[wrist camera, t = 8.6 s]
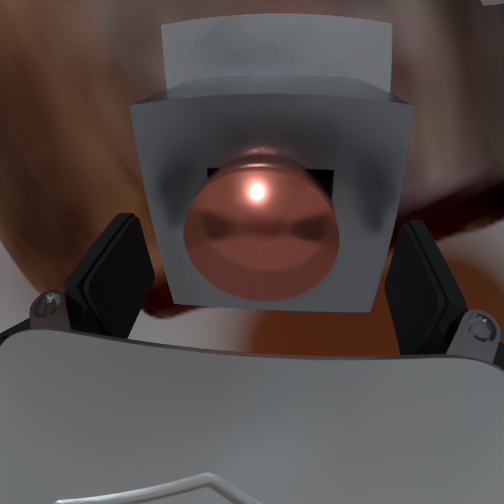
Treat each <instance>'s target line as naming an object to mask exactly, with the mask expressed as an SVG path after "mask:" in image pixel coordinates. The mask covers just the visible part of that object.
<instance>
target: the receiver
mask: <svg viewBox="0 0 504 504" xmlns="http://www.w3.org/2000/svg"><path fill="white" fill-rule="evenodd" d="M161 30H162V43H163V54H164V65H165V75H166V84H167V90H164V91H162V92H159V93H157V94H155V95H152V96H150V97H147V98H145V99H143V100H141V101H138V102H136V103H134V104H132V105H130V112H131V119H132V125H133V131H134V136H135V142H136V148H137V153H138V158H139V163H140V169H141V173H142V178H143V183H144V188H145V192H146V197H147V202H148V206H149V210H150V215H151V219H152V223H153V227H154V231H155V235H156V239H157V243H158V247H159V251H160V255H161V259H162V262H163V266H164V270H165V273H166V277H167V281H168V284H169V288H170V291H171V294H172V298H173V301H174V304H185V305H197V306H211V307H225V308H243V309H261V310H283V311H313V312H314V311H315V312H316V311H317V312H370V311H371V308H372V305H373V301H374V298H375V295H376V292H377V288H378V285H379V281H380V278H381V274H382V271H383V267H384V264H385V260H386V256H387V252H388V248H389V244H390V240H391V236H392V232H393V228H394V223H395V219H396V214H397V210H398V205H399V200H400V195H401V190H402V185H403V179H404V174H405V168H406V162H407V155H408V149H409V142H410V134H411V126H412V118H413V108H414V105H412V104H410V103H408V102H406V101H405V100H403V99H401V98H399V97H397V96H395V95H393V94H391V93H390V84H391V63H392V24H389V23H384V22H378V21H372V20H365V19H357V18H349V17H340V16H329V15H314V14H248V15H232V16H221V17H212V18H203V19H196V20H189V21H183V22H177V23H171V24H166V25H161ZM249 156H274V157H279V158H283V159H286V160H289V161H292V162H294V163H296V164H298V165H300V166H302V167H304V168H305V169H307V170H308V171H310V172H311V173H312V174H313V175H314V176H315V177H316V178H318V180H319V181H320V182H321V183H322V184H323V186H324V187H325V189H326V190H327V192H328V194H329V196H330V198H331V201H332V204H333V207H334V212H335V216H336V220H337V225H338V230H339V239H340V242H339V250H338V255H337V258H336V260H335V263H334V265H333V267H332V268H331V270H330V272H329V273H328V274H327V275H326V276H325V278H324V279H323V280H322V281H321V282H319V283H318V284H317V285H316V286H314V287H313V288H312V289H310V290H308V291H306V292H304V293H302V294H300V295H297V296H295V297H291V298H288V299H283V300H276V301H256V300H249V299H244V298H240V297H237V296H234V295H231V294H229V293H227V292H225V291H223V290H221V289H219V288H217V287H216V286H214V285H213V284H211V283H210V282H209V281H208V280H206V279H205V278H204V277H203V276H202V275H201V274H200V273H199V272H198V270H197V269H196V268H195V267H194V265H193V263H192V262H191V260H190V258H189V256H188V254H187V251H186V248H185V244H184V237H183V227H184V221H185V217H186V214H187V212H188V209H189V208H190V206H191V204H192V202H193V201H194V199H195V197H196V195H197V194H198V192H199V190H200V188H201V187H202V185H203V183H204V182H205V181H206V180H207V178H208V177H209V176H210V175H211V174H212V173H213V172H215V171H216V170H217V169H219V168H220V167H222V166H223V165H225V164H227V163H229V162H231V161H234V160H237V159H240V158H244V157H249Z"/></svg>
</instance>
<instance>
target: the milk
mask: <svg viewBox="0 0 504 504" xmlns="http://www.w3.org/2000/svg"><path fill="white" fill-rule="evenodd" d="M480 1H481V2H482V4H483V6H487V5H496V4H504V0H480Z"/></svg>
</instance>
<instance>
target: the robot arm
mask: <svg viewBox="0 0 504 504" xmlns="http://www.w3.org/2000/svg"><path fill="white" fill-rule="evenodd" d="M154 279H155V274H154V270H153V267H152V263H151V260H150V256H149V253H148V249H147V246H146V242H145V239H144V235H143V231H142V227H141V224H140V220H139V218H138V217H135V215H134V214H133V213H120V214H118V215H117V216H116V217H115V218H114V219H113V220H112V222H111V223H110V224H109V225H108V226H107V228H106V229H105V230H104V231H103V233H102V234H101V235H100V236H99V238H98V239H97V240H96V241H95V243H94V244H93V245H92V246H91V248H90V249H89V250H88V252H87V253H86V254H85V256H84V257H83V258H82V259H81V261H80V262H79V264H78V265H77V266H76V268H75V269H74V270H73V272H72V273H71V274H70V276H69V277H68V279H67V280H66V281H65V283H64V284H63V285H64V287H65V289H66V291H65V292H64V294H63V293H62V292H61V291H58V290H50V291H47V292H45V293H43V294H41V295H40V296H39V297H38V298H36V299H35V301H34V302H33V303H32V305H31V307H30V318H28V319H26V320H24V321H23V322H21V323H19V324H17V325H15V326H13V327H11V328H9V329H8V330H6V331H4V332H2V333H0V504H504V344H502V343H501V342H499V340H500V334H501V333H500V328H499V326H498V324H497V322H496V321H495V320H494V319H493V317H492V316H490V315H489V314H488V313H486V312H484V311H481V310H470V311H468V308H467V306H466V302H465V299H464V297H463V295H462V293H461V291H460V289H459V287H458V285H457V283H456V281H455V279H454V277H453V275H452V273H451V271H450V269H449V267H448V265H447V263H446V261H445V259H444V258H443V256H442V254H441V252H440V250H439V248H438V247H437V245H436V243H435V241H434V240H433V238H432V236H431V234H430V233H429V231H428V229H427V228H426V226H425V224H424V223H423V222H422V221H413V220H407V221H406V223H405V224H402V225H401V226H400V230H399V234H398V238H397V242H396V246H395V249H394V253H393V257H392V260H391V264H390V267H389V271H388V274H387V278H386V281H385V293H386V297H387V301H388V304H389V308H390V312H391V316H392V320H393V324H394V328H395V332H396V337H397V341H398V345H399V350H400V355H389V356H388V355H384V356H310V355H308V356H307V355H283V354H261V353H248V352H234V351H222V350H210V349H200V348H192V347H183V346H174V345H166V344H159V343H151V342H144V341H137V340H131V339H127V338H128V336H129V334H130V332H131V329H132V327H133V325H134V323H135V321H136V318H137V316H138V314H139V312H140V310H141V308H142V306H143V303H144V301H145V299H146V297H147V295H148V293H149V291H150V289H151V287H152V285H153V283H154Z"/></svg>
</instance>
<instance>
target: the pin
mask: <svg viewBox="0 0 504 504" xmlns="http://www.w3.org/2000/svg"><path fill="white" fill-rule="evenodd" d="M183 237H184V244H185V248H186V251H187V254H188V256H189V258H190V260H191V262H192V263H193V265H194V267H195V268H196V269H197V270H198V272H199V273H200V274H201V275H202V276H203V277H204V278H205V279H206V280H208V281H209V282H210V283H211V284H213V285H214V286H216V287H217V288H219V289H221V290H223V291H225V292H227V293H229V294H231V295H234V296H237V297H240V298H244V299H249V300H256V301H276V300H283V299H288V298H291V297H295V296H297V295H300V294H302V293H304V292H306V291H308V290H310V289H312V288H313V287H314V286H316V285H317V284H318V283H319V282H321V281H322V280H323V279H324V278H325V276H326V275H327V274H328V273H329V272H330V270H331V268H332V267H333V265H334V263H335V260H336V258H337V255H338V250H339V242H340V239H339V230H338V225H337V220H336V216H335V212H334V207H333V204H332V201H331V198H330V196H329V194H328V192H327V190H326V189H325V187H324V186H323V184H322V183H321V182H320V181H319V180H318V178H316V177H315V176H314V175H313V174H312V173H311V172H310V171H308V170H307V169H305V168H304V167H302V166H300V165H298V164H296V163H294V162H292V161H289V160H286V159H283V158H279V157H274V156H249V157H244V158H240V159H237V160H234V161H231V162H229V163H227V164H225V165H223V166H222V167H220V168H219V169H217V170H216V171H215V172H213V173H212V174H211V175H210V176H209V177H208V178H207V180H206V181H205V182H204V183H203V185H202V187H201V188H200V190H199V192H198V194H197V195H196V197H195V199H194V201H193V202H192V204H191V206H190V208H189V209H188V212H187V214H186V217H185V221H184V227H183Z"/></svg>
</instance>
